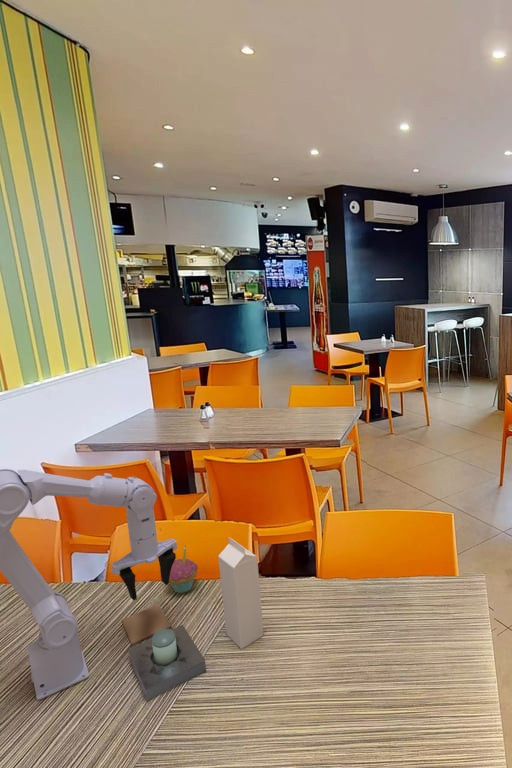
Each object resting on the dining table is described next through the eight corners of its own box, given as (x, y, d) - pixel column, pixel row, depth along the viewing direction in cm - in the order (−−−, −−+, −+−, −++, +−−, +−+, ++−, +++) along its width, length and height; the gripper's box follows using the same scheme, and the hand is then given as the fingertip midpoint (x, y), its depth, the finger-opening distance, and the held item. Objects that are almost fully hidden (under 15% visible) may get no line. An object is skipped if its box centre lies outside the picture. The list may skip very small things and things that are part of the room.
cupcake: (202, 577, 119) (197, 535, 117) (194, 598, 111) (189, 554, 109) (171, 577, 120) (166, 536, 118) (161, 598, 112) (155, 554, 110)
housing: (147, 701, 83) (145, 689, 82) (129, 659, 93) (128, 649, 93) (206, 670, 89) (205, 659, 88) (183, 634, 99) (182, 624, 98)
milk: (241, 649, 93) (232, 554, 89) (225, 634, 98) (215, 542, 94) (264, 635, 97) (256, 542, 93) (248, 620, 102) (239, 531, 97)
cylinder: (159, 678, 88) (155, 649, 87) (152, 663, 92) (148, 635, 90) (181, 667, 90) (178, 639, 89) (173, 652, 94) (170, 625, 93)
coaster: (132, 645, 97) (131, 643, 97) (121, 621, 104) (121, 619, 104) (171, 628, 101) (171, 625, 101) (158, 606, 109) (158, 604, 109)
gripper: (117, 554, 90) (125, 614, 92) (181, 528, 98) (187, 583, 101) (104, 540, 95) (112, 598, 98) (166, 517, 104) (172, 570, 106)
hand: (149, 590), depth 100 cm, fingers open, 7 cm apart
